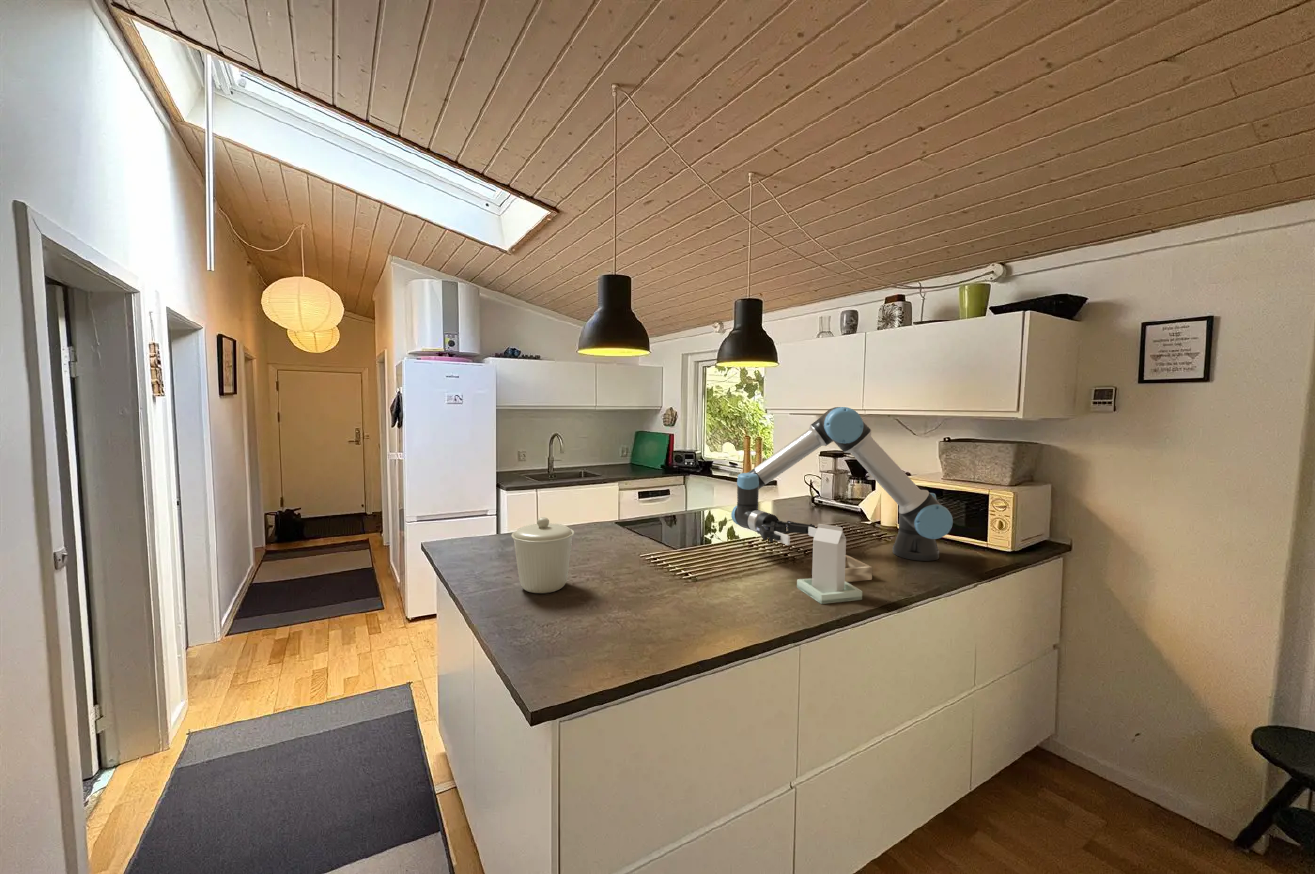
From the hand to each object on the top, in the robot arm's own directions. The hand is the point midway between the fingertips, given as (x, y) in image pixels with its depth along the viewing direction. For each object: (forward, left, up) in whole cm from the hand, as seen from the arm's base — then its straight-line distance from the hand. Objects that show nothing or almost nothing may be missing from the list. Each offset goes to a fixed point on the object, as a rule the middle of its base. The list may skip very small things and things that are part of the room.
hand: (806, 538), depth 161 cm
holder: (-15, -4, -14) cm, 21 cm away
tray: (-2, +10, -14) cm, 17 cm away
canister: (+78, -16, -14) cm, 81 cm away
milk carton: (-2, +10, -13) cm, 16 cm away
